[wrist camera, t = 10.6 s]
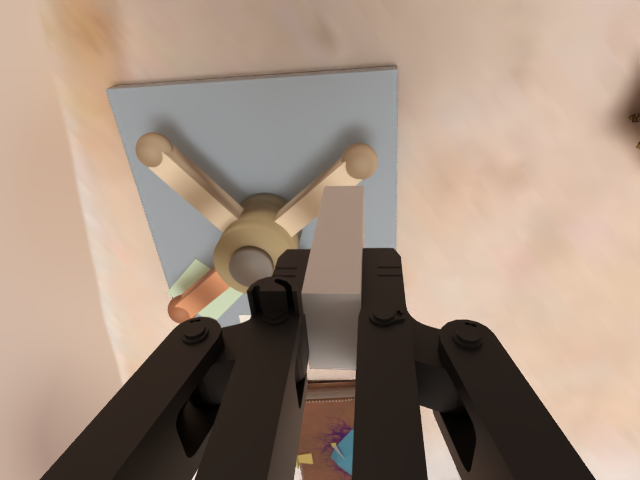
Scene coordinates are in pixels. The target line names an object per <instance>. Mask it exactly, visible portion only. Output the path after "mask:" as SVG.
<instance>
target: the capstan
mask: <svg viewBox="0 0 640 480" xmlns="http://www.w3.org/2000/svg"><path fill="white" fill-rule="evenodd" d="M135 151H136V155H137V157H138V159H139V161H140V162H141V163H142V164H143V165H145V166H147V167H148V168H149V169H150V170H151V171H152V172H154V173H155V174H156V175H157V176H158V177H159V178H161V179H162V180H163V181H164V182H165V183H166V184H167V185H169V186H170V187H171V188H172V189H173V190H174V191H176V192H177V193H178V194H179V195H180V196H181V197H182V198H184V199H185V200H186V201H187V202H188V203H189V204H190V205H192V206H193V207H194V208H195V209H196V210H197V211H199V212H200V213H201V214H202V215H203V216H204V217H205V218H207V219H208V220H209V221H210V222H211V223H212V224H214V225H215V226H216V227H217V228H218V229H219V230H220V231H222V232H223V234H222V236H221V238H220V239H219V241H218V243H217V245H216V247H215V249H214V254H213V262H214V267H213V268H212V269H210V270H209V271H208V272H207V273H206V274H205V275H203V276H202V277H201V278H200V279H199V280H198V281H196V282H195V283H194V284H193V285H192V286H191V287H189V288H188V289H187V290H186V291H185V292H184V293H182V295H178V296H176V297H174V298H173V299H172V300H171V301H170V303H169V305H168V314H169V316H170V318H171V319H172V320H173V321H175V322H177V323H182V322H184V321H186V320H188V319H191V318H195V316H196V315H197V313H198V312H200V311H201V310H202V309H203V308H205V307H206V306H207V305H208V304H210V303H211V302H212V301H213V300H215V299H216V298H217V297H218V296H220V295H221V294H222V293H223V292H224V291H226V290H227V289H228V288H229V287H231V288H233V289H235V290H237V291H239V292H241V293H244V294H247V289H248V288H249V287H250V285H251V284H253V283H254V282H256V281H257V280H260V279H262V278H265V277H271V276H272V275H273V272H274V269H275V266H276V262H277V259H278V257H279V256H280V255H281V254H282V253H283V252H284V251H286V250H287V249H298V246H299V242H300V238H301V234H302V228H304V227H305V226H306V225H307V224H309V223H310V222H311V221H312V220H314V219H315V218H316V217H317V216H318V214H319V209H320V204H321V200H322V195H323V190H324V186H356V185H357V184H358V183H359V182H361V181H362V180H365V179H367V178H369V177H370V176H372V175H373V174H374V172H375V171H376V169H377V165H378V158H377V154H376V152H375V151H374V149H373V148H372V147H370V146H369V145H367V144H364V143H355V144H352V145H350V146H349V147H348V148H347V149H346V150H345V151H344V152H343V154H342V157H341V158H339V159H338V160H337V161H336V162H335V163H334V164H333V165H331V166H330V167H329V168H328V169H327V170H326V171H324V172H323V173H322V174H321V175H320V176H319V177H317V178H316V179H315V180H314V181H313V182H312V183H310V184H309V185H308V186H307V187H306V188H305V189H303V190H302V191H301V192H300V193H299V194H298V195H296V196H295V197H294V198H293V199H292V200H291V201H289V202H288V201H287V200H285V199H283V198H281V197H279V196H276V195H272V194H257V195H253V196H250V197H248V198H247V199H245V200H244V201H242V202H241V204H240V205H239V204H238V203H237V202H236V201H235V200H234V199H233V198H231V197H230V196H229V195H228V194H227V193H226V192H225V191H224V190H223V189H222V188H220V187H219V186H218V185H217V184H216V183H215V182H214V181H213V180H212V179H211V178H210V177H208V176H207V175H206V174H205V173H204V172H203V171H202V170H201V169H200V168H199V167H197V166H196V165H195V164H194V163H193V162H192V161H191V160H190V159H189V158H188V157H186V156H185V155H184V154H183V153H182V152H181V151H180V150H179V149H178V148H177V147H175V146H174V145H173V144H172V143H171V142H170V140H169V139H168V138H167V137H166V136H164V135H163V134H160V133H157V132H150V133H146V134H144V135H142V136H141V137H140V138H139V139H138V141H137V143H136V147H135Z"/></svg>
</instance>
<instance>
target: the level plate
mask: <svg viewBox="0 0 640 480" xmlns="http://www.w3.org/2000/svg"><path fill="white" fill-rule="evenodd" d="M106 92H107V95H108V98H109V102H110V105H111V108H112V111H113V114H114V117H115V120H116V124H117V127H118V130H119V133H120V136H121V139H122V142H123V146H124V149H125V152H126V155H127V158H128V161H129V164H130V167H131V171H132V174H133V177H134V180H135V183H136V186H137V189H138V193H139V196H140V199H141V202H142V205H143V208H144V211H145V215H146V218H147V221H148V224H149V227H150V230H151V233H152V236H153V240H154V243H155V246H156V249H157V252H158V255H159V258H160V262H161V265H162V268H163V271H164V274H165V277H166V280H167V284H168V287H169V290H168V292H167V294H169V295H170V296H172V299H173V298H174V297H176V296H178V295H182V293H184V292H185V291H186V290H187V289H188V288H189V287H191V286H192V285H193V284H194V283H195V282H196V281H198V280H199V279H200V278H201V277H202V276H203V275H205V274H206V273H207V272H208V271H209V270H210V269H212V268H213V267H214V262H213V254H214V249H215V247H216V245H217V243H218V241H219V239H220V238H221V236H222V234H223V232H222V231H220V230H219V229H218V228H217V227H216V226H215V225H214V224H212V223H211V222H210V221H209V220H208V219H207V218H205V217H204V216H203V215H202V214H201V213H200V212H199V211H197V210H196V209H195V208H194V207H193V206H192V205H190V204H189V203H188V202H187V201H186V200H185V199H184V198H182V197H181V196H180V195H179V194H178V193H177V192H176V191H174V190H173V189H172V188H171V187H170V186H169V185H167V184H166V183H165V182H164V181H163V180H162V179H161V178H159V177H158V176H157V175H156V174H155V173H154V172H152V171H151V170H150V169H149V168H148V167H147V166H145V165H143V164H142V163H141V162H140V161H139V159H138V157H137V155H136V151H135V147H136V143H137V141H138V139H139V138H140V137H141V136H142V135H144V134H146V133H150V132H157V133H160V134H163V135H164V136H166V137H167V138H168V139H169V140H170V142H171V143H172V144H173V145H174V146H175V147H177V148H178V149H179V150H180V151H181V152H182V153H183V154H184V155H185V156H186V157H188V158H189V159H190V160H191V161H192V162H193V163H194V164H195V165H196V166H197V167H199V168H200V169H201V170H202V171H203V172H204V173H205V174H206V175H207V176H208V177H210V178H211V179H212V180H213V181H214V182H215V183H216V184H217V185H218V186H219V187H220V188H222V189H223V190H224V191H225V192H226V193H227V194H228V195H229V196H230V197H231V198H233V199H234V200H235V201H236V202H237V203H238V204H239V205H240V204H241V202H242V201H244V200H245V199H247V198H248V197H250V196H253V195H257V194H272V195H276V196H279V197H281V198H283V199H285V200H287V201H288V202H289V201H291V200H292V199H293V198H294V197H295V196H296V195H298V194H299V193H300V192H301V191H302V190H303V189H305V188H306V187H307V186H308V185H309V184H310V183H312V182H313V181H314V180H315V179H316V178H317V177H319V176H320V175H321V174H322V173H323V172H324V171H326V170H327V169H328V168H329V167H330V166H331V165H333V164H334V163H335V162H336V161H337V160H338V159H339V158H341V157H342V154H343V152H344V151H345V150H346V149H347V148H348V147H349V146H350V145H352V144H355V143H364V144H367V145H369V146H370V147H372V148H373V149H374V151H375V152H376V154H377V158H378V165H377V169H376V171H375V172H374V174H373V175H372V176H370V177H369V178H367V179H365V180H362V181H361V182H359V183H358V184H357V185H356V186H364V240H365V248H394V249H395V250H396V203H397V103H398V69H397V66H388V67H373V68H359V69H344V70H330V71H316V72H301V73H287V74H272V75H258V76H244V77H229V78H215V79H200V80H186V81H172V82H157V83H143V84H128V85H115V86H113V87H110V88H108V89H106ZM317 218H318V216H317V217H316V218H315V219H314V220H312V221H311V222H310V223H309V224H307V225H306V226H305V227H304V228H302V234H301V238H300V242H299V246H298V249H311V246H312V241H313V237H314V232H315V228H316V223H317ZM196 317H210V318H213V319H215V320H217V321H218V323H219V324H220V325H221V328H222V327H227V326H231V325H236V324H239V323H243V322H245V321H247V320H249V319H250V317H251V312H250V307H249V301H248V296H247V294H244V293H241V292H239V291H237V290H235V289H233V288H231V287H229V288H228V289H227V290H226V291H224V292H223V293H222V294H221V295H220V296H218V297H217V298H216V299H215V300H213V301H212V302H211V303H210V304H208V305H207V306H206V307H205V308H203V309H202V310H201V311H200V312H198V313H197V315H196V316H195V318H196Z"/></svg>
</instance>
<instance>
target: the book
mask: <svg viewBox="0 0 640 480" xmlns="http://www.w3.org/2000/svg"><path fill="white" fill-rule="evenodd" d="M355 384H356V381H353V382H332V383H311V384H308V386H307V393H306V400H305V407H304V413H303V420H302V427H301V434H300V440H299V447H298V454H297V461H296V465H297V468H299V465H300V469H301V474H302V478H303V480H352V460H353V435H354V409H355Z"/></svg>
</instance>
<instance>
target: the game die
mask: <svg viewBox="0 0 640 480" xmlns="http://www.w3.org/2000/svg"><path fill="white" fill-rule="evenodd" d="M629 119H630V120H632V122H639V121H640V115H639V114H638V115H636V114H635V115H634V116H632V117H630V118H629ZM636 148H639V149H640V142H639V144H638V145H637V146H636Z"/></svg>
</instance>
